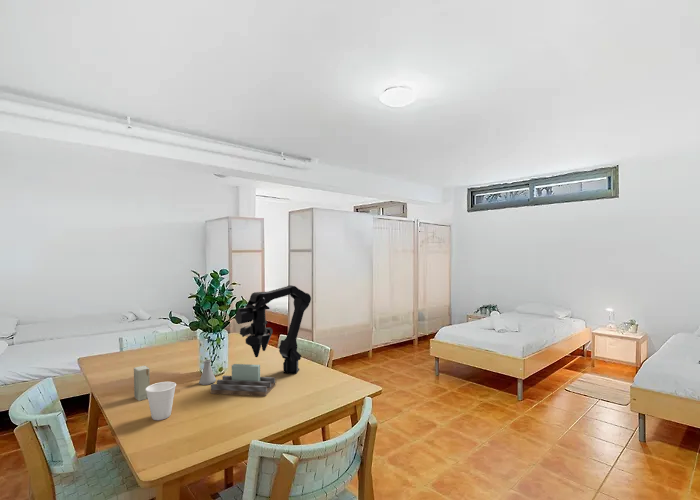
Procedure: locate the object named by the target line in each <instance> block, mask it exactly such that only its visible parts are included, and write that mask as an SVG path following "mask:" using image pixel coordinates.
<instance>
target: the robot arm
mask: <svg viewBox="0 0 700 500" xmlns="http://www.w3.org/2000/svg"><path fill="white" fill-rule="evenodd" d="M286 296H287V297H288V296H290V297H291V298H292V300H293V307H294V311H293V313H292V317H291V320H290V323H289V328H288V330H287V335H286V337H285V339H284V340H283V339H281V340H280V343H279V347H278V352H279V354H280V355H281V357H282V359H284V362H283V365H282V366H283V367H282V368H283V372H282V373H283V374H292V375H294V374H297V373H298V372H299V371H300V368H299V361H301V358H302V354H300V353H299V352H298V343H297V339H298V334H299V331H300V327H301V324H302V321H303V316H304V314H305V311H306V310H307V309H308V307H310V304H311V301H312V297H311V294H309V293H307V292H305V291H304V290H302V289H299V288H298V287H297V286H296V285H290V284H289V285H287V286H283V287H280V288H276V289H273V290H270V291H256V292H252V293H251V295H250V297H249V299H248V302H247V303H246V305H245V307H238V308H237V311H236V312H235V316H234V317H235V321H236V323H237V324H238V325H241V324H246V323H251V324H250V325H249V326H247V327H245V326H244V327H241V328H240V329H239V335H241V336H242V338H244V337H246V336H247V337H246V338H245V344H247V345H248V346H250V347H251V349H252V352H253V355H254V357H255V358H258V357H259V355H260V352H261V349H262V352H266V350H267V347H268V344H269V342H270V339H271V337H272V334H273V328H272V327H267V324H268V321H267V319H266V310H269V309H270V307H269V306H268V305H267V304H269V303H270V302H272V301H273V300H277V299H279V298H283V297H286ZM248 335H249V336H248Z"/></svg>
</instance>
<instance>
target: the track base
mask: <svg viewBox="0 0 700 500" xmlns="http://www.w3.org/2000/svg"><path fill="white" fill-rule="evenodd" d="M221 378H222V379H216V383H212V384H210V394H212V395H213V394H214V395H233V396H236V395H237V396H256V397H257V396H260V397H267V395H268V394H269V393H270V392H271V390H272V391H273V389H274V387H276V377H271V376H269V377H268V376H260V381H242V380H232V375H222V377H221Z"/></svg>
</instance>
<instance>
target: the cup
mask: <svg viewBox="0 0 700 500" xmlns="http://www.w3.org/2000/svg"><path fill="white" fill-rule="evenodd" d="M176 386H177V383H176V382H173V381H161V382H160V381H159V382H156V383H153V384H150V386H148V387H147V388H146V389H145V390H146V392H147V396H148V399H147V400H148V405H149V410H150V415H151V419H152V420H153V421H162V420H165V419H168V418H170V416H171V414H172V409H173V403H174V398H175V397H174V396H175V392H176Z"/></svg>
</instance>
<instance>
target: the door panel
mask: <svg viewBox="0 0 700 500" xmlns="http://www.w3.org/2000/svg"><path fill="white" fill-rule="evenodd" d="M231 376H232V380H242V381H260V377H261V364H252V363H251V364H248V363H247V364H245V363H234V364H232V365H231Z"/></svg>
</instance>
